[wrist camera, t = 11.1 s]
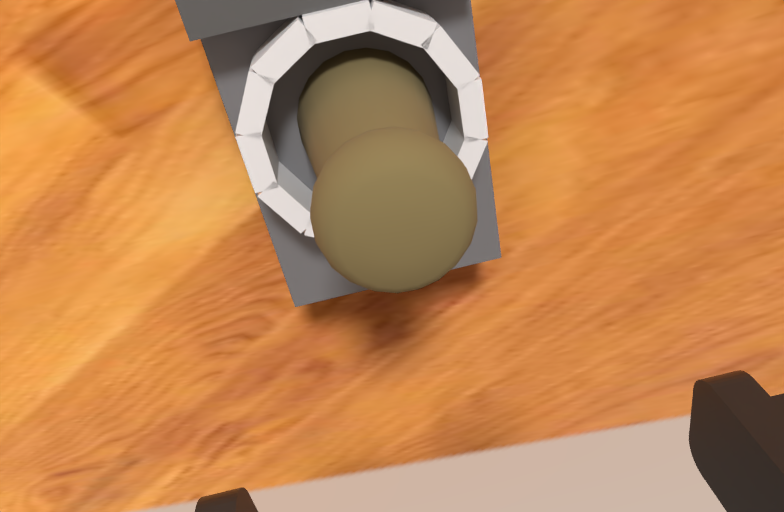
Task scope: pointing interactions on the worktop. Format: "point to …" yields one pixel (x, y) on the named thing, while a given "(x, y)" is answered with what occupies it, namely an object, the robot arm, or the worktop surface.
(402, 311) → the worktop surface
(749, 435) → the robot arm
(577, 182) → the worktop surface
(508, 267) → the worktop surface
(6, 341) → the worktop surface
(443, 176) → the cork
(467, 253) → the camera body
